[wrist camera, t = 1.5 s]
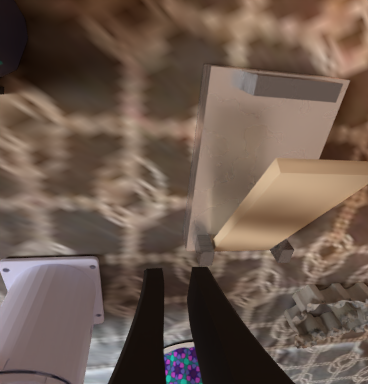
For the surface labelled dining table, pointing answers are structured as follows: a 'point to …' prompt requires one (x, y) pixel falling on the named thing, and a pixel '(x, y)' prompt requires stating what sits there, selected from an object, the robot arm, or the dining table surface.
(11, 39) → the speaker
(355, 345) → the dining table surface
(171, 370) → the purple beige domed disc
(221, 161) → the block
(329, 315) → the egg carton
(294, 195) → the latch bar
